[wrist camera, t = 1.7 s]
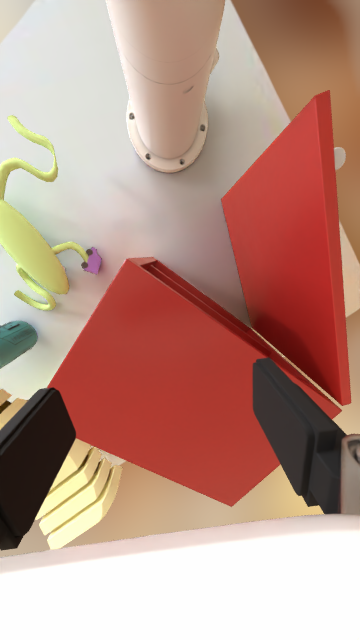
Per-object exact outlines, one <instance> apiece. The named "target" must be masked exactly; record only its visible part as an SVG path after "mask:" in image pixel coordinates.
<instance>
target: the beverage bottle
mask: <svg viewBox="0 0 360 640" xmlns="http://www.w3.org/2000/svg"><path fill="white" fill-rule="evenodd" d="M36 341H37V333H36V331H35V329H34V328H33V327H32V326H31V325H29V324H28V323H26V322H23V321H12V322H9V323H8V322H7V324H6V323H5V325H3V326H2V325H0V368H2V367H4V366H5V365H7V364H8V363H9V364H10V362H11V361H13V360H15V358H17V357H18V356H20V355H21V354H24V353H26V352H27V350H29V349H30V348H31V347H33V346H34V345H35V344H36Z"/></svg>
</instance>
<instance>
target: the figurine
mask: <svg viewBox="0 0 360 640" xmlns="http://www.w3.org/2000/svg"><path fill="white" fill-rule="evenodd" d="M8 121H9V122H10V123H11V125H12V126H13V127H14V128H15V130H16V131H17V132H18V133H19V134H21V135H22V136H24V137H25V138H27V139H28V140H30V141H32V142H34V143H37V144H39V145H42V146H44V147H45V148H47V149H49V150H50V151H51V153H52V154H53V155H54V166H53V168H52V169H51V171H50V172H44V173H43V172H41V171H39V170H37V169H36V168H34V167H33V166H31V165H30V164H28V163H27V162H25V161H23V160H20V159H18V158H12V159H8V160H6V161H4V162H2V163H1V165H0V243H1V245H2V246H3V248H4V249H5V250H6V252H7V253H8V254H9V255H10V256H11V257H12V258H13V259H14V260H15V262H16V263H17V265H16V269H17V272H18V273H19V275H20V276H21V277H22V279H23V280H24V281H25V282H26V283H27V284H28V286H29V287H30V288H31V289H33V290H34V291H35V292H37V293H38V294H40V295H42V296H43V297H44V298H45V299H46V300H47V301H48V305H45V304H41V303H38V302H36V301H34V300H32V299H31V298H29V297H28V296H26V295H25V294H23V293H22V292H20V291H19V290H18V291H16V292H15V293H14V295H15V296H16V297H18V298H19V299H21V300H22V301H24V302H26V303H27V304H29V305H31V306H33V307H35V308H38V309H40V310H46V311H48V310H53V309H54V308H55V306H56V303H55V300H54V298H53V297H52V295H51V294H49V293H48V292H47V291H45V290H44V289H42V288H41V287H39V286H38V285H37V284H36V283H35V282H34V281H33V280H32V279H31V278H30V276H31V277H32V278H33V279H34V280H35V281H37V282H38V283H39V284H41V285H42V286H44V287H45V288H47V289H48V290H50V291H52V292H55V293H57V294H66V293H67V291H68V290H69V284H68V278H67V276H66V274H65V271H66V269H65V268H64V267H63V266H62V265H61V263H60V261H59V260H58V258H57V257H56V254H58V253H60V252H62V251H64V250H66V249H73V250H75V251H77V252H78V253H79V254H80V255H81V257H82V258H83V259H84V261H85V262H83V263H82V264H81V266H82V268H83V269H84V270H83V271H87V272H90V273H93V274H98V270H99V266H100V263H101V259H102V258H101V257H100V256H99V255H98V254H97V249H95V248H93V247H92V248H91V249H88V250H87V251H86V252H85V251H84V249H83V248H82V247H81V246H79V245H78V244H76V243H74V242H66V243H63V244H60V245H58V246H55V247H53V248H51V247H50V246H49V245H48V244H47V242H46V241H45V240H44V238H43V237H42V236H41V235H40V233H39V232H38V231H37V230H36V229H35V228H34V227H33V226H32V225H31V224H30V223H29V222H28V221H27V220H26V218H25V217H24V216H23V215H22V214H20V213H19V212H18V211H17V210H15V209H14V208H13V207H12V206H10V205H9V204H8V203H7V202H5V201H4V193H5V186H6V181H7V178H8V175H9V174H10V172H11V171H12V170H15V169H18V168H22V169H24V170H26V171H28V172H30V173H31V174H33V175H34V176H36V177H37V178H39V179H41V180H43V181H46V182H53V181H54V180H55V179H56V177H57V174H58V167H57V162H56V157H55V153H54V148H53V145H52V144H51V143H50V141H49V140H48V139H47V138H45V137H44V136H41V135H37V134H35V133H33V132H31V131H29V130H28V129H26V128H25V127H24V126H23V125H22V124H21V123H20V122H19V120H18V119H17V118H16V117H15V116H13V115H11V116H9V117H8ZM28 274H29V275H30V276H29V275H28Z"/></svg>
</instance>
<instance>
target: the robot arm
mask: <svg viewBox="0 0 360 640" xmlns="http://www.w3.org/2000/svg"><path fill="white" fill-rule="evenodd" d="M106 4H107V8H108V12H109V16H110V20H111V24H112V28H113V32H114V36H115V40H116V44H117V48H118V52H119V56H120V60H121V64H122V68H123V72H124V76H125V80H126V84H127V88H128V92H129V96H130V98H129V102H128V107H127V127H128V132H129V136H130V139H131V142H132V145H133V147H134V148H135V150H136V152H137V154H138V155H139V156H140V158H141V159H142V160H143V161H144V162H145V163H146V164H147V165H148V166H150V167H152V168H153V169H155V170H158V171H160V172H166V173H172V172H178V171H181V170H183V169H185V168H186V167H188V166H189V165H190V164H192V163H193V162H194V161H195V159H196V158H197V157H198V155H199V154H200V152H201V150H202V148H203V145H204V142H205V139H206V134H207V128H208V116H207V109H206V104H205V101H204V98H205V94H206V89H207V85H208V80H209V76H210V74H211V72H212V70H213V69H214V67H215V65H216V64H217V62H218V60H219V53H218V50H217V48H216V44H217V39H218V35H219V31H220V26H221V21H222V17H223V11H224V5H225V0H106ZM131 119H134V120H131ZM201 130H203V131H201ZM147 158H150V160H147ZM181 162H182V163H183V165H181V164H180V163H181ZM253 411H254V414H255V416H256V418H257V420H258V422H259V424H260V426H261V428H262V430H263V432H264V433H265V435H266V437H267V439H268V441H269V443H270V445H271V447H272V449H273V451H274V453H275V454H276V456H277V458H278V460H279V462H280V464H281V465H282V468H283V470H284V471H285V473H286V475H287V477H288V479H289V481H290V483H291V485H292V487H293V489H294V491H295V492H296V494H297V495H298V496H302V497H303V498H304V500H305V502H306V504H307V506H308V507H310V506H317V505H319V506H320V507H321V509H322V511H323V513H324V514H322V515H305V516H297V517H287V518H279V519H270V520H261V521H252V522H245V523H238V524H230V525H223V526H215V527H208V528H201V529H193V530H186V531H179V532H171V533H165V534H157V535H150V536H143V537H136V538H129V539H122V540H115V541H108V542H101V543H94V544H87V545H80V546H74V547H66V548H59V549H53V550H46V551H40V552H33V553H26V554H19V555H12V556H6V557H0V640H360V434H350V435H346V434H345V433H344V432H343V431H342V430H341V429H340V428H339V426H338V425H337V424H336V423H335V422H334V421H333V420H332V419H331V418H330V417H329V416H328V415H327V414H326V413H325V412H324V411H323V410H322V409H321V408H320V407H319V406H318V405H317V404H316V403H315V402H314V401H313V400H312V399H311V398H310V397H309V396H308V395H307V394H306V393H305V392H304V390H303V389H302V388H301V387H300V386H298V385H297V384H295V383H293V382H292V380H291V379H290V378H289V377H288V376H287V375H286V374H285V373H284V372H283V371H282V370H281V369H280V368H279V367H278V366H277V365H276V364H275V363H274V362H273V361H272V360H271V359H270V358H262V359H257V360H256V362H255V363H253ZM75 439H76V430H75V428H74V426H73V423H72V421H71V418H70V416H69V413H68V411H67V408H66V406H65V403H64V401H63V398H62V396H61V394H60V391H59V390H56V389H55V388H54V387H51V388H44V389H39V390H38V391H37V392H36V393H35V394H34V395H33V396H32V397H31V398H30V399H29V400H28V401H27V402H26V403H25V404H24V406H23V407H22V408H21V409H20V410H19V411H18V412H17V413H16V414H15V415H14V416H13V417H12V418H11V419H10V420H9V421H8V422H7V423H6V424H5V425H4V426H3V427H2V428H1V430H0V549H1V550H8V549H15V548H17V547H18V545H19V543H20V542H21V540H22V538H23V536H24V535H25V534H26V533H27V532H28V531H29V530H30V528H31V526H32V524H33V522H34V520H35V518H36V516H37V514H38V512H39V510H40V508H41V506H42V504H43V502H44V500H45V498H46V496H47V494H48V492H49V490H50V488H51V487H52V485H53V483H54V481H55V479H56V477H57V475H58V473H59V471H60V469H61V467H62V465H63V463H64V461H65V459H66V457H67V455H68V453H69V451H70V449H71V447H72V445H73V443H74V441H75Z"/></svg>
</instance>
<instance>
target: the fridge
mask: <svg viewBox="0 0 360 640" xmlns="http://www.w3.org/2000/svg"><path fill="white" fill-rule="evenodd" d="M262 358H270V359H271V360H272V361H273V362H274V363H275V364H276V365H277V366H278V367H279V368H280V369H281V370H282V371H283V372H284V373H285V374H286V375H287V376H288V377H289V378H290V379H291V380H292V382H293V383H295V384H297V385H298V386H300V387H301V388H302V389H303V390H304V392H305V393H306V394H307V395H308V396H309V397H310V398H311V399H312V400H313V401H314V402H315V403H316V404H317V405H318V406H319V407H320V408H321V409H322V410H323V411H324V412H325V413H326V414H327V415H328V416H329V417H330V418H331V419H333V418H334V417H336V416H337V415H338V414H339V413H340V412H341V411H342V410H341V409H340V408H339V407H338V406H337V405H335V404H334V403H333V402H332V401H331V400H330V399H329V398H328V397H327V396H325V395H324V394H323V393H322V392H321V391H320V390H319V389H318V388H316V387H315V386H314V385H313V384H312V383H311V382H310V381H309V380H308V379H306V378H305V377H304V376H303V375H302V374H301V373H300V372H299V371H298V370H296V369H295V368H294V367H293V366H292V365H291V364H290V363H289V362H288V361H286V360H285V359H284V358H283V357H282V356H281V355H280V354H279V353H277V352H276V351H275V350H274V349H273V348H272V347H271V346H270V345H269V344H267V343H266V342H265V341H264V340H263V339H262V338H261V337H260V336H258V335H257V334H256V333H255V332H254V331H253V330H252V329H251V328H249V327H248V326H246V325H245V324H244V323H242V322H241V321H240V320H238V319H237V318H236V317H234V316H233V315H231V314H230V313H229V312H227V311H226V310H225V309H223V308H222V307H221V306H219V305H218V304H216V303H215V302H214V301H212V300H211V299H210V298H208V297H207V296H206V295H204V294H203V293H201V292H200V291H199V290H197V289H196V288H195V287H193V286H192V285H191V284H189V283H188V282H186V281H185V280H184V279H182V278H181V277H180V276H178V275H177V274H176V273H174V272H173V271H171V270H170V269H169V268H167V267H166V266H165V265H163V264H162V263H161V262H159V261H158V260H156V259H155V258H154V257H145V258H129V259H126V260H125V262H124V263H123V265H122V267H121V268H120V270H119V271H118V273H117V275H116V276H115V278H114V280H113V281H112V283H111V284H110V286H109V288H108V289H107V291H106V293H105V294H104V296H103V297H102V299H101V301H100V302H99V304H98V306H97V307H96V309H95V310H94V312H93V314H92V315H91V317H90V319H89V320H88V322H87V323H86V325H85V327H84V328H83V330H82V332H81V333H80V335H79V336H78V338H77V340H76V341H75V343H74V345H73V346H72V348H71V349H70V351H69V353H68V354H67V356H66V358H65V359H64V361H63V362H62V364H61V366H60V367H59V369H58V371H57V372H56V374H55V375H54V377H53V379H52V380H51V382H50V384H49V385H48V387H47V388H51V387H54V388H55V389H56V390H59V391H60V394H61V396H62V398H63V401H64V403H65V406H66V408H67V411H68V413H69V416H70V418H71V421H72V423H73V426H74V428H75V430H76V439H79V440H81V441H83V442H85V443H88V444H90V445H92V446H94V447H97V448H99V449H101V450H104V451H106V452H108V453H110V454H113V455H115V456H117V457H119V458H122V459H124V460H126V461H129V462H131V463H133V464H135V465H138V466H140V467H142V468H144V469H147V470H149V471H151V472H154V473H156V474H158V475H160V476H163V477H165V478H167V479H169V480H172V481H174V482H176V483H179V484H181V485H183V486H186V487H188V488H190V489H192V490H195V491H197V492H199V493H201V494H204V495H206V496H208V497H210V498H213V499H215V500H217V501H219V502H222V503H224V504H227V505H229V506H231V507H232V506H233V505H234V504H235V503H237V502H238V501H239V500H240V499H241V498H242V497H243V496H245V495H246V494H247V493H248V492H249V491H250V490H251V489H252V488H254V487H255V486H256V485H257V484H258V483H259V482H261V481H262V480H263V479H264V478H265V477H266V476H268V475H269V474H270V473H271V472H272V471H273V470H275V469H276V468H277V467H278V466H279V465H280V462H279V460H278V458H277V456H276V454H275V453H274V451H273V449H272V447H271V445H270V443H269V441H268V439H267V437H266V435H265V433H264V432H263V430H262V428H261V426H260V424H259V422H258V420H257V418H256V416H255V414H254V411H253V363H255V362H256V360H257V359H262Z"/></svg>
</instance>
